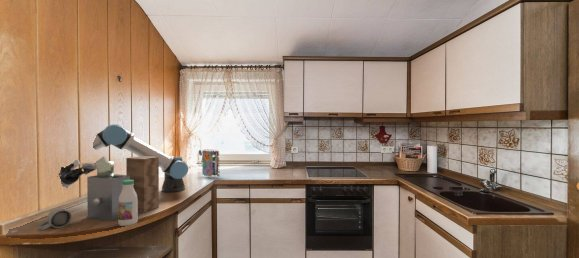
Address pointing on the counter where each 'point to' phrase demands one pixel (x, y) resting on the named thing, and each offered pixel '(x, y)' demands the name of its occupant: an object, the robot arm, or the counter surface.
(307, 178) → the counter surface
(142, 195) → the walnut stand
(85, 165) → the spout can
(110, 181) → the box
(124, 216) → the milk bottle
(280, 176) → the counter surface
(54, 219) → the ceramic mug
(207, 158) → the box
